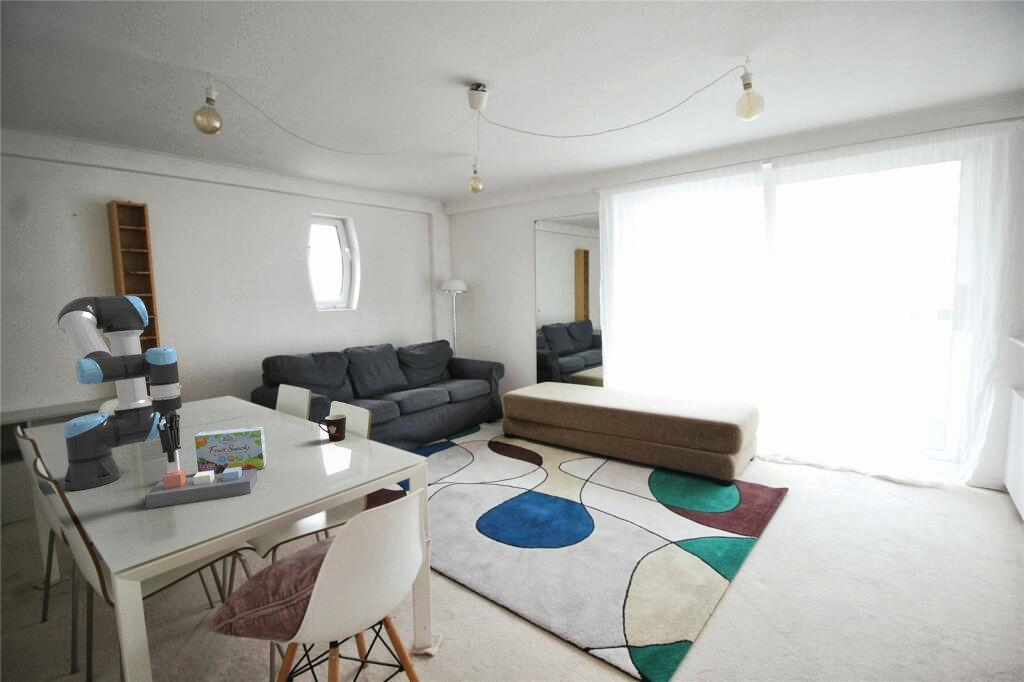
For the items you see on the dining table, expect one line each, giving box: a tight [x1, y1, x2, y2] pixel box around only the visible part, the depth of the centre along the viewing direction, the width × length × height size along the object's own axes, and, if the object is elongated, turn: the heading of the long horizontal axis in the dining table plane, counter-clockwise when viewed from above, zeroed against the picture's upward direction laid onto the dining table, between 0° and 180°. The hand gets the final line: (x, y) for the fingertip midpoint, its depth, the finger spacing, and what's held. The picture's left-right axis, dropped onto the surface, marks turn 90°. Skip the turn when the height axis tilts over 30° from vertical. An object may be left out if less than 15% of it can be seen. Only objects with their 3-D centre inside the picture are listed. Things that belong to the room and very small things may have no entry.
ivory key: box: [192, 470, 215, 485], centre depth 155 cm, size 5×5×4 cm
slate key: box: [222, 467, 242, 481], centre depth 157 cm, size 5×5×4 cm
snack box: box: [194, 426, 268, 474], centre depth 175 cm, size 21×6×15 cm, turn 105°
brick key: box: [162, 468, 187, 489], centre depth 152 cm, size 5×5×4 cm
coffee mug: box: [318, 414, 347, 443], centre depth 210 cm, size 12×9×10 cm
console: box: [145, 469, 258, 509], centre depth 155 cm, size 28×12×4 cm, turn 109°
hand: (174, 471), depth 152 cm, fingers closed
